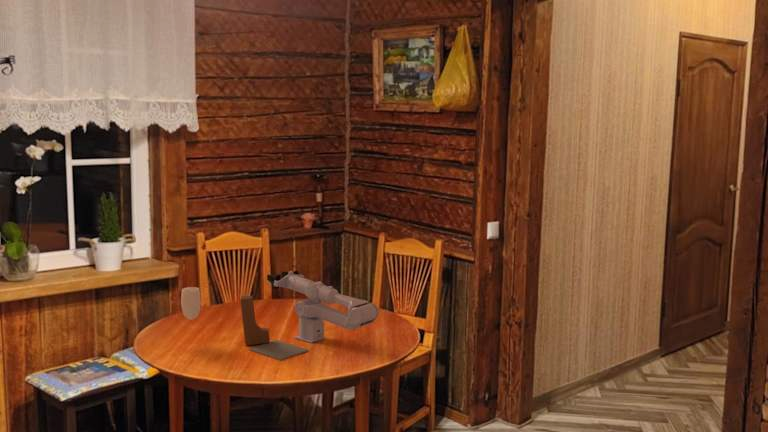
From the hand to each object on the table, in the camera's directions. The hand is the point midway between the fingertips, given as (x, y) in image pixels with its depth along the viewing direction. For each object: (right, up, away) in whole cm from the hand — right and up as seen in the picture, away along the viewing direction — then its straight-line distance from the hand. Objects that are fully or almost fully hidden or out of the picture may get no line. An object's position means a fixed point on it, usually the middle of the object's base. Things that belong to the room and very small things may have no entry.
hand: (275, 275), depth 305 cm
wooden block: (-4, -24, -17) cm, 30 cm away
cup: (-29, -24, -17) cm, 41 cm away
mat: (+5, -26, -24) cm, 35 cm away
